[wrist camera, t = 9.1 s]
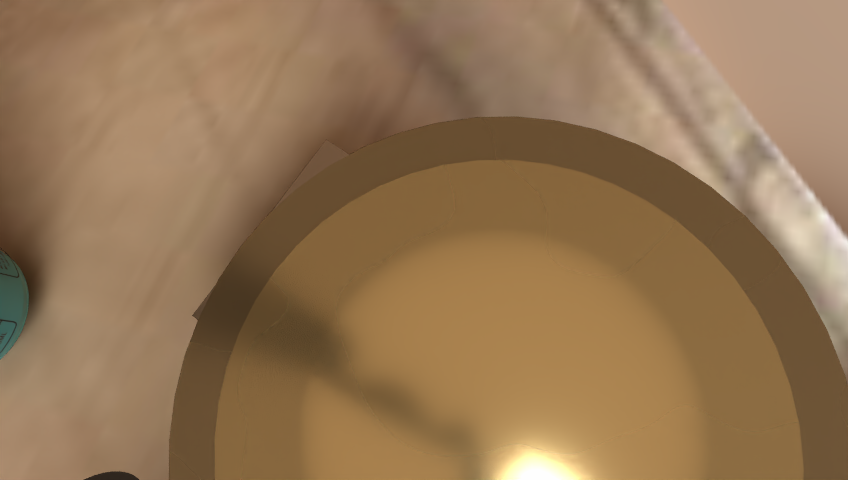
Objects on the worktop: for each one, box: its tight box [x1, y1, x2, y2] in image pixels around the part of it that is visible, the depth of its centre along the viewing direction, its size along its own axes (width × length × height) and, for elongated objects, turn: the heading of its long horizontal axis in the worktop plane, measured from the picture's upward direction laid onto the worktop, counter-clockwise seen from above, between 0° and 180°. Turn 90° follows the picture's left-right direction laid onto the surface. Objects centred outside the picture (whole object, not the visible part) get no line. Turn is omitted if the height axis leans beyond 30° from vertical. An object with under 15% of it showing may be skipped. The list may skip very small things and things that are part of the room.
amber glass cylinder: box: [169, 117, 848, 480], centre depth 10 cm, size 5×5×12 cm
